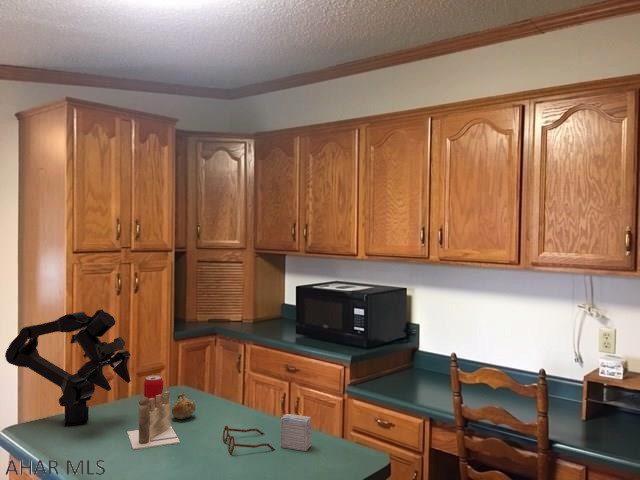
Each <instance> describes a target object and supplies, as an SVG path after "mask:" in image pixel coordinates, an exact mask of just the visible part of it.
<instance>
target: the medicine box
mask: <svg viewBox="0 0 640 480" xmlns="http://www.w3.org/2000/svg"><path fill="white" fill-rule="evenodd" d="M311 431H312V417H311V416H307V415H300V414H291V413H287V414H284V415H283V416H282V417H281V418H280V448H284V449H289V450H290V449H291V450H298V451H303V452H306V451H308V449H309V448H310V447H311V445H312V432H311Z"/></svg>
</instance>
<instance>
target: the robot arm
mask: <svg viewBox="0 0 640 480" xmlns="http://www.w3.org/2000/svg"><path fill="white" fill-rule="evenodd" d="M115 325H116V320H115V317H114V316H113V315H111V314H110V313H108V312H106V311H104V310H103V309H97V310H96V312H95V313H94V314H93V315H92V316H90V315H87V314H86V312H85V311H78V312H73V313H66V314H65V315H63V316H61V317H59V318H57V319H55V320H53V321H48V322H43V323H40V324H35V325H28V326H25V327H23V328H21V329H20V331H19V333H18V335H17V336H16V337H15V338H14V339H13V340H12V341H11V342H10V343H9V345H8V347H7V348H6V351H5V354H4V356H5V360H6V362H7V363H8V364H10V365H13V366H16V367H19V368H28V369H29V370H31V371H33V372H35V373H36V374H38V375H40V376H41V377H43V378H44V379H46V380H47V381H48V382H51V383H52V384H54V385H55V386H57V387H59V388H60V390H61V393H62V395H61V396H60V397H59V398H58V403H59V406H60V407H64V418H63V426H64V427H71V426H79V425H80V426H81V425H85V424H88V421H89V411H90V410H89V405H88V404H87V403H88V401H90V400H92V397H93V394H94V393H95V392H96V391H95V390H96V386H98V387H100V388H101V389H104V390H106V391H108V392H110V391H111V390H112V387H111V385H110V383H109V381H108V379H107V378H106V376H105V375H104V371H103V369H104V368H105V367H108V366H109V367H110V368H113V369H112V371H113V372H114V373H115V374H116V375H118V377H120V378H121V379H122V380H123V381H124V382H126V384H129V383H131V377H130V372H129V369H128V361H129V360H130V357H131V355H132V354H131V353H130V351H129V350H127V349H125V346H126V341H125V340H124V339H123V338H122V337H121V336H119V337H116V338H114V339H113V341H111V342H106V341H101V339H100V338H103V337H104V336H105V334H107V333H108V332H109V331H110V330H111V329H112V328H113V327H114V326H115ZM76 331H78V332H77V333H75V334H72V335H71V339H70V344H71V345H72V344H76V343H78V345H79V346H80V348H81V350H82V351H83V352H84V354H83V355H82V356H83V358H84V359H87V358H88V360H89V361H86V362H85V363H83V365H82V366H81V367H79V368H78V370H77V372H76V373H74V374H71V373H69V372H68V371H66V370H64V369H63V368H61V367H59V366H57V365H56V364H54V363H52V362H51V361H50V360H48V359H46V358H44V357H43V356H41V355H40V353H39V350H38V349H37V348H38V346H39V336H44V335H49V334H53V333H72V332H76ZM95 385H96V386H95Z"/></svg>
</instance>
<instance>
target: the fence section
mask: <svg viewBox="0 0 640 480" xmlns="http://www.w3.org/2000/svg"><path fill="white" fill-rule="evenodd" d="M170 392H171V391H163V395H157V396H156V408H155V398H150V399H149V400H150V404H149V438H151V437H152V436H154V435H156V434H158V433H160V432H161V431H163V430H165V429H167V428H168V427H170V426H171V427H172V419H171V418H172V402H171V401H170V399H171V397H170V395H171V394H170ZM162 398H163V404H162Z"/></svg>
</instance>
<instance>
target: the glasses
mask: <svg viewBox="0 0 640 480" xmlns="http://www.w3.org/2000/svg"><path fill="white" fill-rule="evenodd" d="M229 432H239V433H249V432H257V433H259V434H260V435H262V436H263V435H265V433H264V432H263V431H262V430H259V428H249V429H241V428H230V427H229V426H228V425H225V426H224V427H223V432H222V442H223V443H225V444H226V443H227V441H228V439H229V441H228V449H227V450H228V453H229V455H232V454H233V453H234V449H235V447H240V448H251V449H252V448H253V449H254V448H255V449H256V448H259V447H268V448H269V449H271V450H272V451H276V449H275V447H273V446H272V445H270V444H269V443H259V444H245V443H235V441H236V440H235V436H234V435H230V433H229ZM225 434H226V435H225ZM231 444H232V445H231Z"/></svg>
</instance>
